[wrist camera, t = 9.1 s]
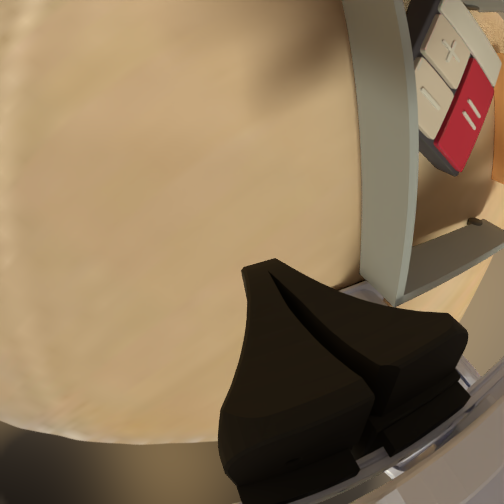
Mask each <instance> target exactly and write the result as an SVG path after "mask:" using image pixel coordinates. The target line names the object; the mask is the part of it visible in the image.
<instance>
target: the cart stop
mask: <svg viewBox="0 0 504 504" xmlns="http://www.w3.org/2000/svg"><path fill="white" fill-rule="evenodd" d="M497 55H498V57H499V59H500V60H501V63H502V64H501V68H500V72H499V75H498V78H497V81H496V85H495V86H494V101H495V139H494V158H493V170H492V179H493V180H495V181H498V182H500V183H502V184H504V53H497Z"/></svg>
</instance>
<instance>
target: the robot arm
mask: <svg viewBox="0 0 504 504" xmlns="http://www.w3.org/2000/svg"><path fill="white" fill-rule="evenodd" d="M241 272H242V277H243V282H244V287H245V292H246V297H247V320H246V329H245V336H244V341H243V346H242V351H241V355H240V359H239V363H238V366H237V369H236V372H235V375H234V378H233V381H232V384H231V387H230V389H229V391H228V394H227V396H226V398H225V400H224V403H223V405H222V407H221V410H220V419H219V430H218V448H219V456H220V459H221V462H222V465H223V468H224V471H225V474H226V475H227V476H228V477H229V478H230V479H231V480H232V481H233V483H234V484H235V485H236V486H237V489H238V492H239V495H240V498H241V501H242V502H238V503H234V504H316V503H319V502H322V501H324V500H327V499H329V498H331V497H334V496H336V495H338V494H341V493H343V492H345V491H347V490H349V489H351V488H354V487H356V486H358V485H360V484H362V483H364V482H366V481H368V480H370V479H372V478H373V477H375V476H377V475H379V474H381V473H383V472H385V473H386V474H387V475H388V476H389V477H391V478H392V480H391V481H389V482H388V483H386V484H384V485H382V486H381V487H379V488H377V489H375V490H374V491H372V492H370V493H368V494H366V495H364V496H362V497H360V498H359V499H357V500H355V501H353V502H351V503H349V504H504V356H503V357H502V358H501V359H500V360H499V361H498V362H497V363H496V364H495V365H494V366H493V367H492V368H491V369H489V370H488V371H487V372H486V373H485V374H484V375H483V376H482V377H481V376H480V375H479V373H478V372H477V371H476V369H475V368H474V367H473V366H472V365H471V364H470V362H469V361H468V360H467V359H466V358H465V357H464V356H463V355H462V354H463V351H464V350H465V347H466V345H467V341H468V332H467V330H466V329H465V328H464V327H463V326H462V325H461V324H460V323H458V322H457V321H456V320H455V319H454V318H453V317H452V316H451V315H450V314H448V313H437V312H422V311H413V310H407V309H400V308H395V307H389V306H388V305H387V304H386V303H385V302H384V301H383V298H384V297H383V296H382V295H381V294H380V293H379V292H378V291H377V290H376V289H375V288H374V287H373V286H372V285H371V284H369V283H368V282H367V281H363V282H361V283H358V284H355V285H353V286H350V287H347V288H345V289H342V290H339V291H337V290H335V289H333V288H331V287H328V286H326V285H324V284H322V283H320V282H318V281H316V280H314V279H312V278H310V277H308V276H306V275H304V274H302V273H300V272H299V271H297V270H295V269H293V268H292V267H290V266H288V265H286V264H285V263H283V262H281V261H279V260H278V259H276V258H274V259H271V260H267V261H264V262H260V263H256V264H253V265H249V266H246V267H243V269H242V270H241Z"/></svg>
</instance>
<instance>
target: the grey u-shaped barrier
mask: <svg viewBox="0 0 504 504" xmlns="http://www.w3.org/2000/svg"><path fill="white" fill-rule="evenodd" d="M461 1H462V2H463V4H464V5H465V6H466V8H467V9H469V10H477V11H479V12H504V0H461ZM342 4H343V9H344V14H345V19H346V24H347V29H348V35H349V41H350V47H351V54H352V61H353V68H354V76H355V85H356V94H357V104H358V116H359V129H360V147H361V174H362V226H361V254H360V272H359V274H360V275H361V276H362V277H363V278H364V279H365V280H366V281H367V282H368V283H369V284H371V285H372V286H373V287H374V288H375V289H376V290H377V291H378V292H379V293H380V294H381V295H382V296H383V297H384V298H385V299H386V300H387V301H388V302H389V303H390V304H391V305H392V306H393V307H396V306H398V305H401V304H403V303H405V302H407V301H409V300H411V299H413V298H415V297H417V296H419V295H421V294H423V293H425V292H427V291H429V290H431V289H433V288H435V287H437V286H439V285H441V284H442V283H444V282H446V281H448V280H450V279H452V278H454V277H455V276H457V275H459V274H461V273H463V272H464V271H466V270H468V269H470V268H471V267H473V266H475V265H477V264H478V263H480V262H482V261H483V260H485V259H487V258H488V257H490V256H492V255H493V254H495V253H496V252H498V251H500V250H501V249H503V248H504V230H502V229H501V228H499V227H497V226H495V225H494V224H492V223H490V222H488V221H487V220H485V219H482V220H479V219H477V218H469V221H468V225H467V226H465V227H462V228H460V229H457V230H455V231H453V232H450V233H448V234H445V235H442V236H440V237H437V238H435V239H432V240H430V241H427V242H424V243H422V244H419V245H417V246H414V247H412V242H413V233H414V224H415V214H416V202H417V187H418V162H419V128H418V104H417V89H416V78H415V69H414V60H413V53H412V46H411V40H410V34H409V28H408V23H407V17H406V13H405V8H404V4H403V0H342Z"/></svg>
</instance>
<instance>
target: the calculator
mask: <svg viewBox="0 0 504 504" xmlns="http://www.w3.org/2000/svg"><path fill="white" fill-rule="evenodd" d="M407 10H408V13H407V15H406V17H407V23H408V28H409V34H410V40H411V46H412V53H413V60H414V69H415V78H416V89H417V104H418V128H419V151H420V152H421V153H422V154H423V155H424V156H425V157H426V158H427V159H428V160H429V161H430V162H431V163H432V164H433V165H434V167H436V168H437V169H439V170H442V171H444V172H446V173H448V174H450V175H452V176H457V175H458V174H459V172H462V170H463V168H464V166H465V164H466V162H467V160H468V158H469V156H470V153H471V151H472V149H473V147H474V144H475V142H476V140H477V137H478V135H479V133H480V130H481V128H482V125H483V123H484V120H485V117H486V115H487V112H488V109H489V107H490V104H491V101H492V98H493V95H494V86H495V85H496V81H497V78H498V75H499V72H500V68H501V64H502V63H501V60H500V59H499V57H498V55H497V53H496V52H495V50H494V48H493V46H492V45H491V43H490V42H489V40H488V38H487V37H486V35H485V34H484V32H483V31H482V29H481V27H480V26H479V25H478V23H477V22H476V20H475V19H474V17H473V16H472V15H471V13H470V12H469V10H468V9H467V8H466V6H465V5H464V4H463V2H462V1H461V0H411V2H410V4H409V6H408V9H407Z"/></svg>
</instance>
